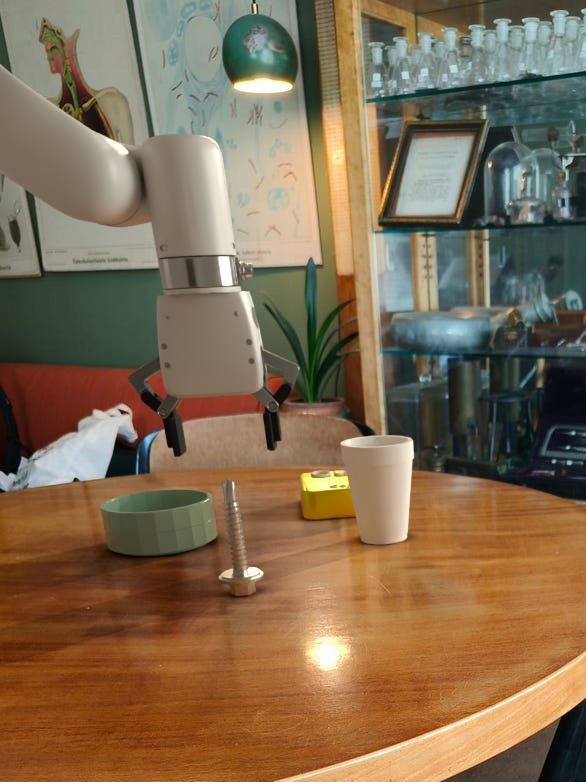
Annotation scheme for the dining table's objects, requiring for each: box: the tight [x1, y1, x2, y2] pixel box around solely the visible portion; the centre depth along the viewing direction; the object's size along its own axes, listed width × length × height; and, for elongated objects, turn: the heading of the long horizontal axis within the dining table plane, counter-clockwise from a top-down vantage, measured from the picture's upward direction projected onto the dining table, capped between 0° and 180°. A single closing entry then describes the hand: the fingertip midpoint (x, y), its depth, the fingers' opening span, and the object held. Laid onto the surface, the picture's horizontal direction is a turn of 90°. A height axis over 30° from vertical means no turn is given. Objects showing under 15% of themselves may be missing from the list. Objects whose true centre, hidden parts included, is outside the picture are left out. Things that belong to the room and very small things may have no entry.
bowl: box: [99, 488, 219, 557], centre depth 120 cm, size 14×14×6 cm
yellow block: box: [298, 469, 356, 521], centre depth 137 cm, size 15×15×5 cm
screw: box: [218, 478, 264, 597], centre depth 97 cm, size 13×5×5 cm
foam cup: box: [340, 434, 415, 545], centre depth 117 cm, size 10×9×13 cm
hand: (226, 451), depth 94 cm, fingers open, 9 cm apart
